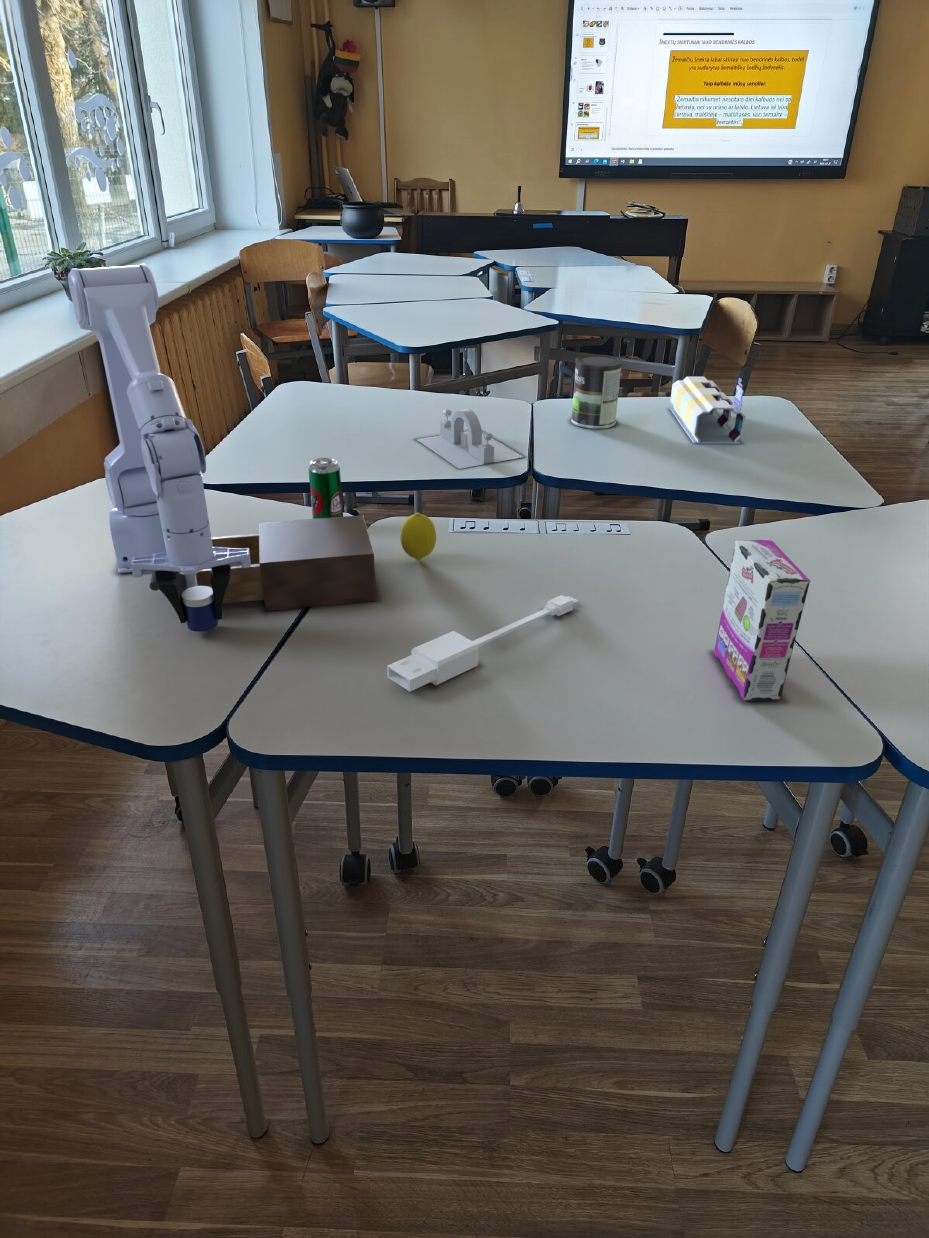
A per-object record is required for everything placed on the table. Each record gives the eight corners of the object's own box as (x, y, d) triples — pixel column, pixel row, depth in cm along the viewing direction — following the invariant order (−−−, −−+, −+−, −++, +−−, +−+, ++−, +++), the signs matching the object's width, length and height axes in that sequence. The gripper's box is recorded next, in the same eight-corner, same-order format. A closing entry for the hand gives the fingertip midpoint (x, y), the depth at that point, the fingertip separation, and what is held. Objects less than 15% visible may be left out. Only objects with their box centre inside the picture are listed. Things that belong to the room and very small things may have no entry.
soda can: (338, 537, 141) (333, 468, 135) (309, 534, 142) (303, 466, 136) (348, 525, 146) (343, 458, 140) (319, 522, 146) (314, 455, 140)
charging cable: (585, 616, 122) (588, 595, 120) (411, 699, 102) (412, 675, 100) (559, 603, 125) (561, 582, 123) (385, 681, 105) (385, 658, 103)
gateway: (493, 461, 173) (494, 423, 169) (483, 463, 172) (484, 424, 168) (449, 434, 188) (449, 397, 184) (440, 435, 187) (440, 399, 183)
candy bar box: (783, 701, 103) (813, 580, 94) (743, 702, 102) (769, 581, 94) (749, 651, 112) (773, 537, 104) (712, 652, 112) (733, 538, 104)
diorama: (740, 443, 184) (751, 383, 177) (693, 443, 184) (702, 382, 177) (712, 409, 205) (720, 354, 199) (669, 409, 205) (676, 353, 199)
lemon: (423, 571, 131) (422, 523, 127) (394, 562, 134) (392, 515, 130) (443, 557, 135) (442, 511, 131) (414, 549, 138) (413, 503, 134)
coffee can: (576, 429, 191) (581, 366, 184) (566, 416, 200) (571, 354, 193) (621, 428, 192) (628, 365, 185) (609, 414, 201) (615, 353, 194)
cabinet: (265, 611, 120) (259, 563, 116) (264, 568, 132) (258, 523, 128) (376, 600, 123) (373, 553, 119) (365, 559, 135) (363, 515, 131)
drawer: (151, 614, 117) (143, 577, 114) (159, 573, 128) (152, 538, 125) (288, 601, 121) (284, 565, 118) (285, 562, 131) (282, 528, 128)
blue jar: (188, 618, 116) (182, 587, 113) (219, 615, 117) (214, 584, 114) (186, 633, 112) (180, 601, 110) (218, 630, 113) (213, 598, 111)
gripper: (120, 542, 102) (141, 639, 109) (244, 532, 105) (257, 627, 112) (127, 519, 108) (147, 612, 115) (244, 510, 111) (257, 601, 118)
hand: (201, 617), depth 114 cm, fingers closed on blue jar, 4 cm apart
